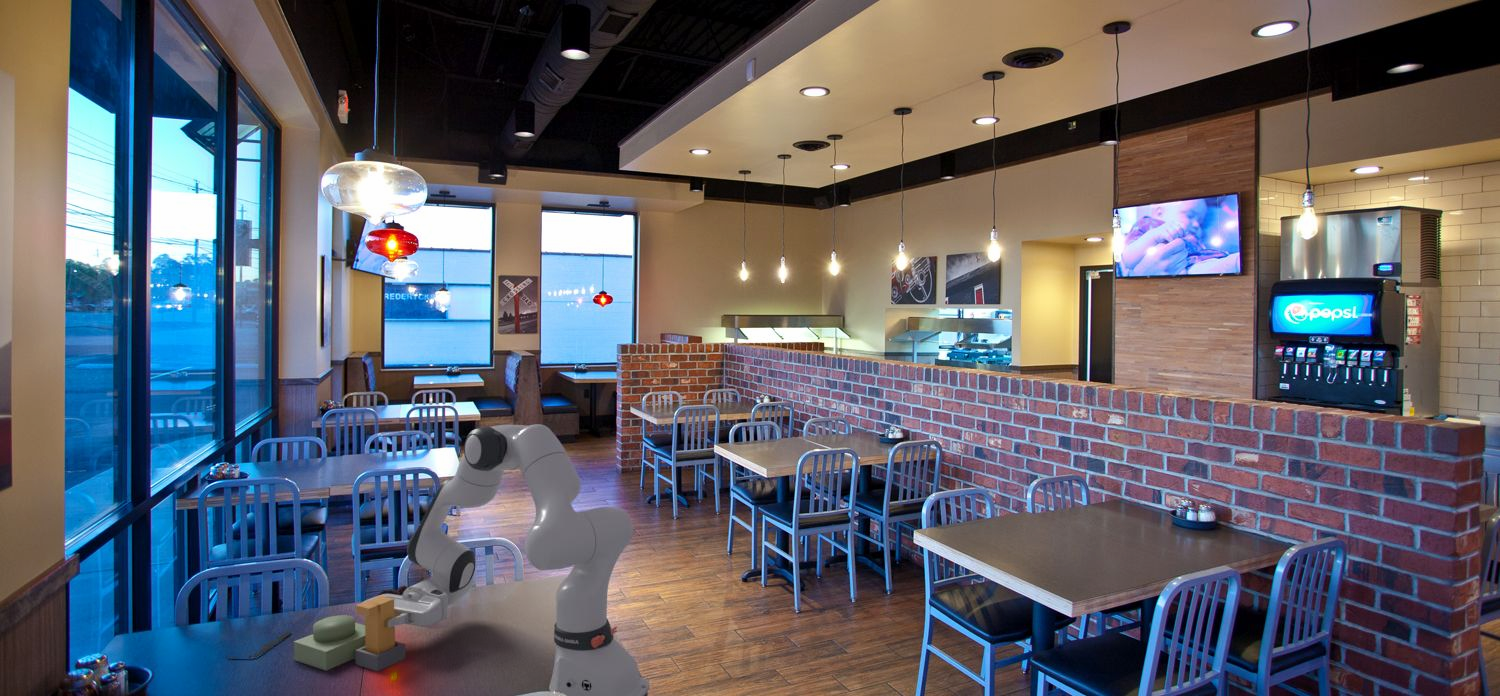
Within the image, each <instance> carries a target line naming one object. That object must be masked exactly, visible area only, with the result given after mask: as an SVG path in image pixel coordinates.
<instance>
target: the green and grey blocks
mask: <svg viewBox="0 0 1500 696" xmlns="http://www.w3.org/2000/svg"><path fill="white" fill-rule="evenodd" d="M312 632H313V634H310V635H309V634H308V635H307V636H305V637H302V638H299V639H296V640H294V641H293V660H294V661H296V662H299V663H302V664H306V665H307V666H311V667H314V668H317V669H320V670H323V671H326V672H327V671H329V670H332V669H334V668H336V667H338V666H341V665H343V664H345V663H348V662H349V661H352V660H355V665H357V666H359V667H362V668H366V669H368V670H371V671H374V672H380V671H381V670H383V669H386V668H388V667H390V666H392V665H394V664H396V663H399V662H401V661H404V660H405V659H406V644H405V643H403V642H400V641H396V640H395V647H394V648H392V649H389V650H387V651H385V652H383V653H380V654H378V655H377V654H374V653H371V652H368V651H366V646H365V624H362V623H358V622H356V618H355V616H352V615H347V614H343V615H341V614H340V615H333V616H332V615H331V616H328V617H324V618H322V619H320V620H317V621H316V622H314V624H313V625H312Z"/></svg>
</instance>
